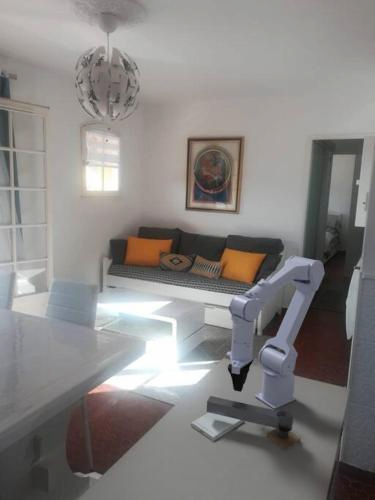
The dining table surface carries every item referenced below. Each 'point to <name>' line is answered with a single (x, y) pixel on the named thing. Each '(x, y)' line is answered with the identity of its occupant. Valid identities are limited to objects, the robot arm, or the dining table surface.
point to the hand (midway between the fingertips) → (239, 386)
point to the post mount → (283, 438)
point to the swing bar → (250, 413)
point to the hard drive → (215, 425)
